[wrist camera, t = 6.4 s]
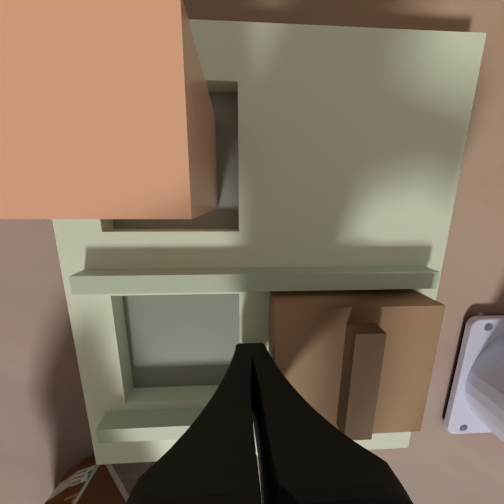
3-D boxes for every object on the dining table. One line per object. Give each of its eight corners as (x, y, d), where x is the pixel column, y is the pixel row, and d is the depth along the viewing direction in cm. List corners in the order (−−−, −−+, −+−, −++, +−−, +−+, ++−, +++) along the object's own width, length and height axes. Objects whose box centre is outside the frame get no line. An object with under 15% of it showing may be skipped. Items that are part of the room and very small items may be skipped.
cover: (410, 287, 12) (463, 314, 9) (392, 396, 13) (434, 449, 10) (269, 290, 11) (279, 319, 8) (267, 401, 13) (275, 457, 10)
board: (458, 51, 11) (515, 13, 8) (394, 428, 15) (420, 466, 13) (41, 33, 10) (-16, -15, 7) (108, 442, 14) (84, 486, 12)
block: (215, 117, 10) (180, -11, 4) (217, 208, 11) (191, 219, 5) (123, 114, 10) (-65, -24, 4) (132, 207, 11) (-9, 218, 5)
